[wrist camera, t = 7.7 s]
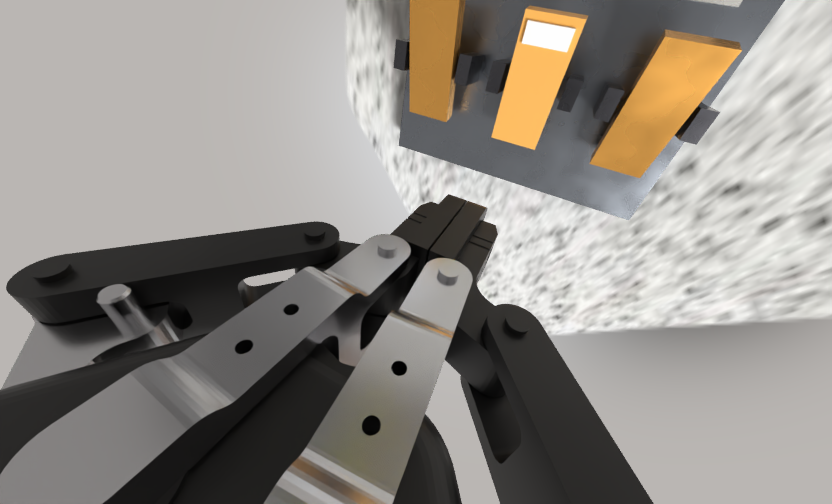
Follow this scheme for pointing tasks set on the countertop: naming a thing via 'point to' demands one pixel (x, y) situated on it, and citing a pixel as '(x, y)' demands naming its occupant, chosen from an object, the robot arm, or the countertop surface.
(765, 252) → the countertop surface
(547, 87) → the middle breaker
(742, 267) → the countertop surface
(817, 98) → the countertop surface
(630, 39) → the breaker panel
